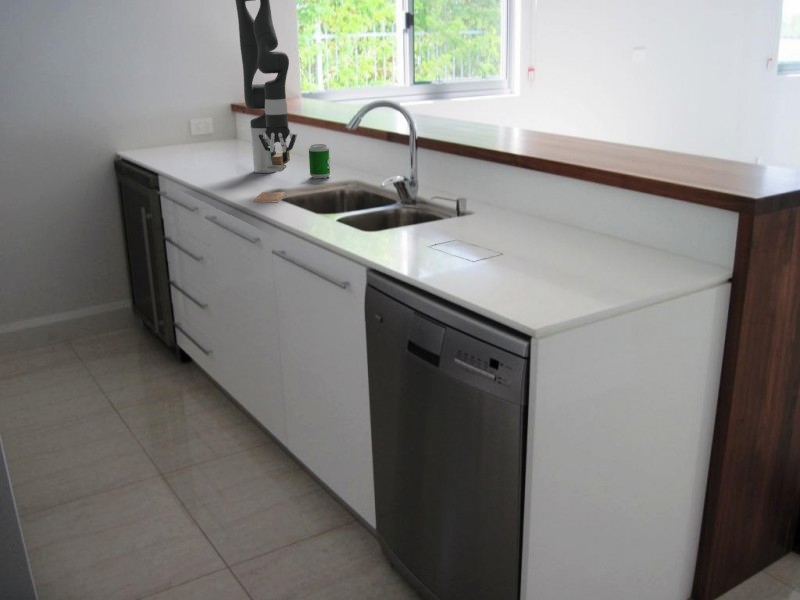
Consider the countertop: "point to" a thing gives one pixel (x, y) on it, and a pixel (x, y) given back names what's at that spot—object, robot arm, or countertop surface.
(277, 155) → the turner
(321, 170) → the soda can
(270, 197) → the tile
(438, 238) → the countertop surface
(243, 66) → the robot arm
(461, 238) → the countertop surface
